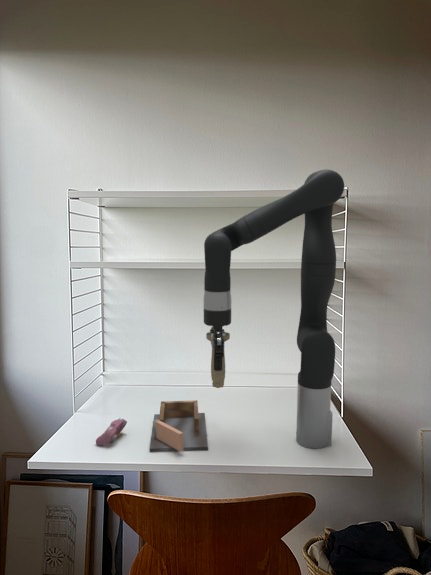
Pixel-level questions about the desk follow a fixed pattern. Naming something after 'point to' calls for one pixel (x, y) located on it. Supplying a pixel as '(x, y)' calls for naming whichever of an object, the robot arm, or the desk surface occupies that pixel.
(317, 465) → the desk surface
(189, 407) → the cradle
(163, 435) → the gate
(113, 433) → the mauve rounded lump
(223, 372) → the handle
